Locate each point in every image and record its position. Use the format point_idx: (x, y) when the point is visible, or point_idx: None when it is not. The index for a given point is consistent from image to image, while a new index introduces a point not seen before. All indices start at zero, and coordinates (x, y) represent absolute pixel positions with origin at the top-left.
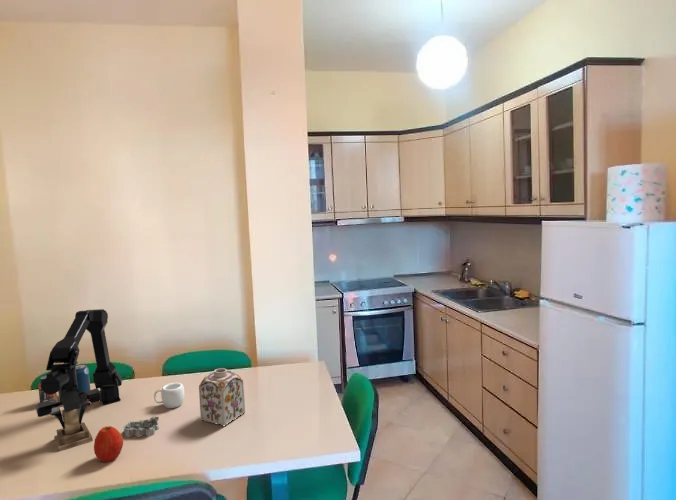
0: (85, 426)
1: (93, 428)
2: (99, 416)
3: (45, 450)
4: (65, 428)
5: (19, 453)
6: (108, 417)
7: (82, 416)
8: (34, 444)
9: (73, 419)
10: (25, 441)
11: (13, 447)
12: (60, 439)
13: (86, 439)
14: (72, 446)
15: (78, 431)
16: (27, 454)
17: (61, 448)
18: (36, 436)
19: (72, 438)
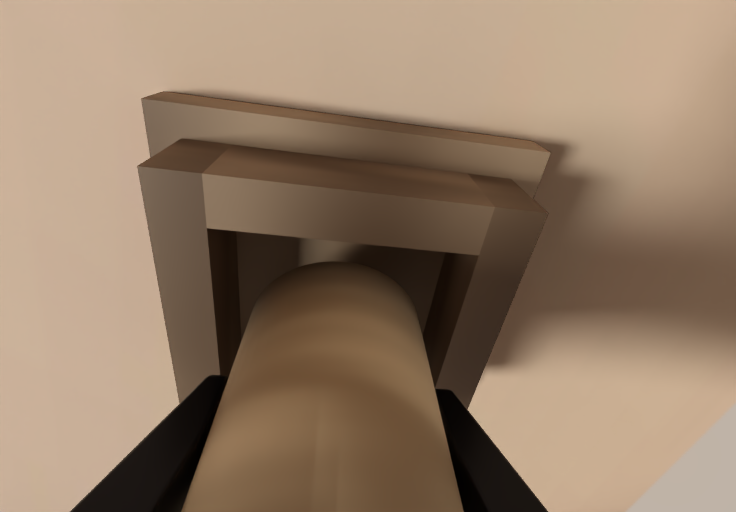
0: (177, 337)
1: (145, 352)
2: (97, 479)
3: (583, 260)
4: (431, 379)
5: (701, 351)
6: (21, 436)
7: (98, 492)
8: (567, 400)
9: (307, 476)
10: (572, 461)
11: (655, 440)
12: (541, 213)
13: (222, 107)
14: (393, 124)
15: (278, 280)
16: (693, 298)
17: (510, 141)
18: None
19: (384, 179)
